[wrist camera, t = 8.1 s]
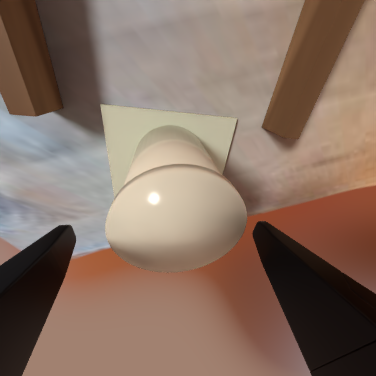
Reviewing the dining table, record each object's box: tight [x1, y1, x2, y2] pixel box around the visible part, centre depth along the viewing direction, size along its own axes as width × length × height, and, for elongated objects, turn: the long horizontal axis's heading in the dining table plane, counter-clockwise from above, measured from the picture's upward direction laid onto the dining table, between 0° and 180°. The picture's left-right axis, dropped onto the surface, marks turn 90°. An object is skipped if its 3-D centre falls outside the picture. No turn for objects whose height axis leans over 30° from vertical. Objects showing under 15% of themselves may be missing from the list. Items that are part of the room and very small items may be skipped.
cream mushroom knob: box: [105, 125, 247, 273], centre depth 12 cm, size 9×6×8 cm
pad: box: [100, 104, 237, 197], centre depth 15 cm, size 10×9×1 cm
